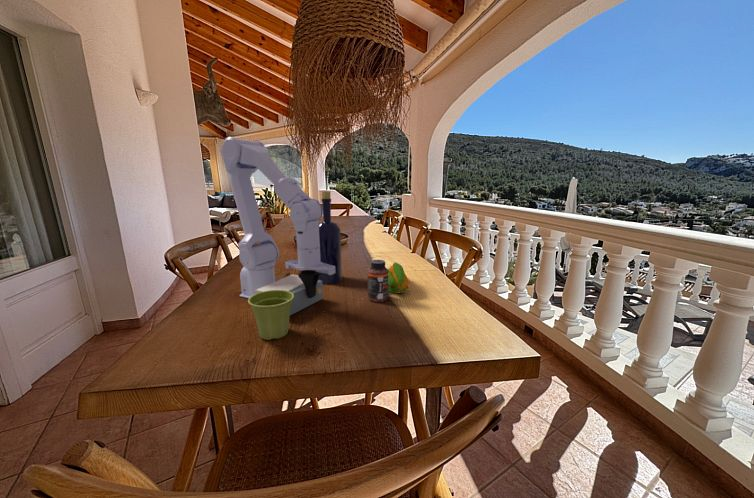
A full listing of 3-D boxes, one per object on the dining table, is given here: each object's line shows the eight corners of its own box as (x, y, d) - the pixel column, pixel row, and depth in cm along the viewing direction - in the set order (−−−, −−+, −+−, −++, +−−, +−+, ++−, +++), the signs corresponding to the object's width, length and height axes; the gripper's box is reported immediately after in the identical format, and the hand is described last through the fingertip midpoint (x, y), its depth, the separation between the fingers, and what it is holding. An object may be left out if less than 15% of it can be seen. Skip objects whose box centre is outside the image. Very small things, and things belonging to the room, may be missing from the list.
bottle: (320, 274, 106) (317, 190, 100) (345, 276, 105) (343, 190, 98) (311, 283, 98) (307, 191, 91) (338, 285, 96) (336, 191, 89)
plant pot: (273, 320, 72) (271, 287, 70) (304, 328, 68) (302, 293, 66) (242, 338, 64) (238, 301, 62) (275, 348, 60) (271, 309, 58)
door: (279, 317, 73) (278, 297, 72) (319, 297, 85) (319, 280, 84) (285, 319, 72) (284, 299, 71) (325, 299, 84) (324, 281, 83)
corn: (387, 273, 84) (381, 255, 103) (385, 298, 86) (380, 276, 105) (413, 274, 84) (402, 257, 104) (410, 299, 86) (400, 277, 106)
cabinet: (257, 311, 77) (255, 289, 75) (293, 293, 89) (292, 274, 88) (281, 317, 74) (279, 294, 72) (315, 297, 86) (314, 278, 85)
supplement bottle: (386, 303, 82) (386, 264, 79) (365, 302, 83) (365, 263, 81) (389, 295, 88) (390, 259, 85) (370, 294, 89) (370, 257, 86)
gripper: (275, 248, 75) (280, 297, 78) (323, 253, 69) (325, 306, 72) (293, 242, 81) (297, 289, 84) (338, 247, 75) (340, 296, 79)
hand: (311, 296), depth 79 cm, fingers closed
